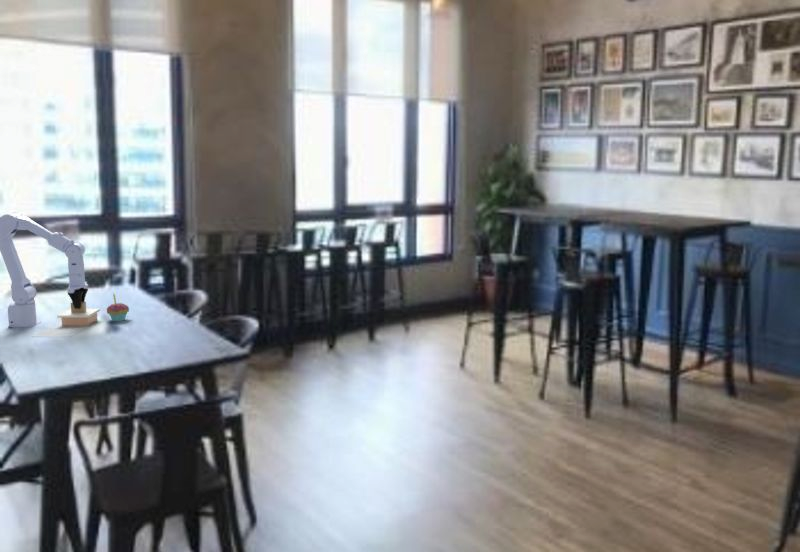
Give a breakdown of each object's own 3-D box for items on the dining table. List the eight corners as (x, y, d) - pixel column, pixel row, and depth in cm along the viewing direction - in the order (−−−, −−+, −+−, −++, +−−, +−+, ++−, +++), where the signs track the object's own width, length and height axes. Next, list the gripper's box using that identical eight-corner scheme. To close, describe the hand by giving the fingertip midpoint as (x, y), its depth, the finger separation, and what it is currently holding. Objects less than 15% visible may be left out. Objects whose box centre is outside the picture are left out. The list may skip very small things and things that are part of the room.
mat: (31, 337, 276) (31, 336, 276) (48, 328, 290) (48, 327, 290) (70, 337, 277) (70, 336, 276) (85, 328, 290) (84, 327, 290)
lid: (57, 317, 291) (56, 305, 291) (69, 310, 303) (69, 299, 302) (88, 317, 292) (87, 305, 291) (99, 310, 303) (99, 299, 303)
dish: (62, 327, 293) (61, 316, 292) (72, 321, 303) (71, 311, 302) (88, 326, 293) (87, 316, 293) (97, 321, 303) (96, 311, 302)
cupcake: (121, 323, 299) (120, 294, 297) (102, 322, 301) (100, 293, 299) (133, 318, 308) (132, 290, 306) (114, 317, 309) (113, 289, 307)
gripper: (79, 276, 288) (82, 311, 290) (93, 270, 302) (96, 303, 304) (61, 276, 287) (63, 311, 290) (76, 270, 302) (78, 303, 304)
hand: (79, 307), depth 297 cm, fingers closed on lid, 2 cm apart
